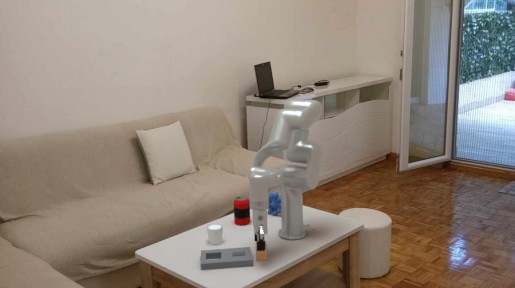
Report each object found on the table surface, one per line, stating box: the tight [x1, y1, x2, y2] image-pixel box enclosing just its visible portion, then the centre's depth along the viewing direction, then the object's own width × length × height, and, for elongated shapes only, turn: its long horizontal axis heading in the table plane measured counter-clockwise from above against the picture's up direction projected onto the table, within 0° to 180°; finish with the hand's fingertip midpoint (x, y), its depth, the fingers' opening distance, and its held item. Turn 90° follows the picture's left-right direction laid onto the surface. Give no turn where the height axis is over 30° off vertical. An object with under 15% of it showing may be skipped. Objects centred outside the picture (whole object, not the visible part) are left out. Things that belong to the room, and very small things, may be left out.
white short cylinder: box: [206, 223, 224, 245], centre depth 215 cm, size 7×7×7 cm
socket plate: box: [200, 246, 254, 271], centre depth 197 cm, size 20×12×3 cm, turn 96°
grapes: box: [267, 192, 281, 216], centre depth 243 cm, size 12×7×12 cm, turn 51°
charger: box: [255, 240, 268, 262], centre depth 198 cm, size 4×4×8 cm
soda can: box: [233, 196, 251, 226], centre depth 235 cm, size 8×8×12 cm
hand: (259, 245), depth 197 cm, fingers open, 9 cm apart
